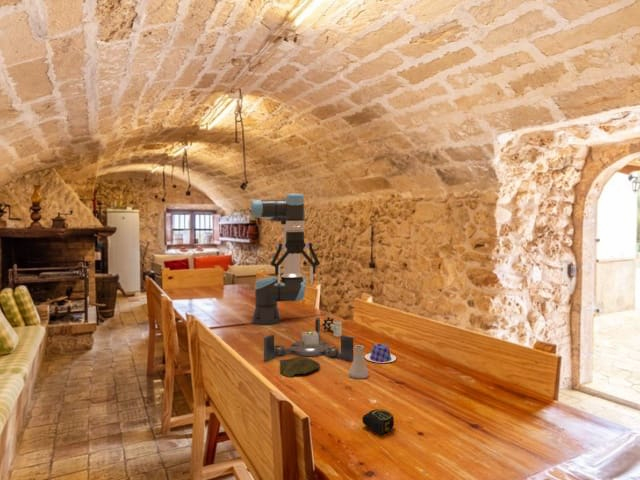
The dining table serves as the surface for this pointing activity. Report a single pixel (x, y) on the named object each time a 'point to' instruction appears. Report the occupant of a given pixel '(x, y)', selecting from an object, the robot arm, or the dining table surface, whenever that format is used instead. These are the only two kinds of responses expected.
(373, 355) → the pudding
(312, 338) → the tribrach
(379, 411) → the tape measure
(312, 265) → the robot arm
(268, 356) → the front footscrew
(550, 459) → the dining table surface
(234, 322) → the dining table surface
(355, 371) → the flask
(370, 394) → the dining table surface
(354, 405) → the dining table surface
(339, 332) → the valve
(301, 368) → the pottery fragment
